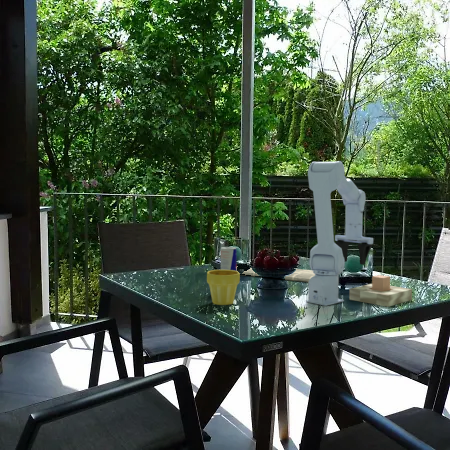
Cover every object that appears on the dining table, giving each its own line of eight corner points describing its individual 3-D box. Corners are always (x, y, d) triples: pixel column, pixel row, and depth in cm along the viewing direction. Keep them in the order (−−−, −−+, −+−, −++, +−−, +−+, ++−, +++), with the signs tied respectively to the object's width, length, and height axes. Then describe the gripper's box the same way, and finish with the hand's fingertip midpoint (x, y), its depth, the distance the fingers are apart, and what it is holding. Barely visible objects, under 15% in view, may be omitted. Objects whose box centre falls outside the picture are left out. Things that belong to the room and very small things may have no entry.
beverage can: (235, 291, 193) (235, 248, 192) (219, 291, 194) (219, 248, 193) (237, 288, 198) (237, 246, 197) (222, 288, 200) (222, 246, 198)
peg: (382, 300, 177) (383, 278, 176) (371, 298, 180) (372, 276, 179) (389, 298, 179) (390, 276, 179) (378, 296, 182) (379, 275, 182)
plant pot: (245, 304, 174) (245, 273, 173) (216, 308, 169) (216, 276, 168) (230, 298, 183) (229, 268, 182) (201, 301, 178) (201, 271, 177)
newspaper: (228, 275, 229) (228, 268, 229) (253, 268, 245) (253, 262, 245) (311, 284, 209) (311, 277, 209) (331, 276, 225) (332, 269, 225)
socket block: (387, 306, 170) (388, 295, 169) (349, 299, 180) (349, 288, 180) (411, 299, 179) (412, 289, 179) (374, 293, 189) (374, 283, 189)
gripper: (378, 224, 191) (377, 264, 192) (343, 222, 202) (343, 259, 203) (366, 225, 186) (365, 266, 187) (331, 223, 197) (331, 261, 198)
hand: (353, 263), depth 195 cm, fingers open, 7 cm apart
